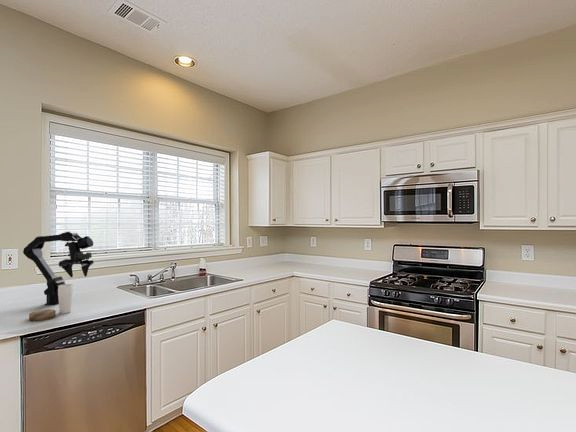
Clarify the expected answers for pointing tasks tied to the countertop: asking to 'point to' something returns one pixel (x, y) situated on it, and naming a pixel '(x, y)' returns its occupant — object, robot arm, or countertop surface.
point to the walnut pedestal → (42, 315)
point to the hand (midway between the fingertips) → (78, 276)
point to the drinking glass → (65, 298)
